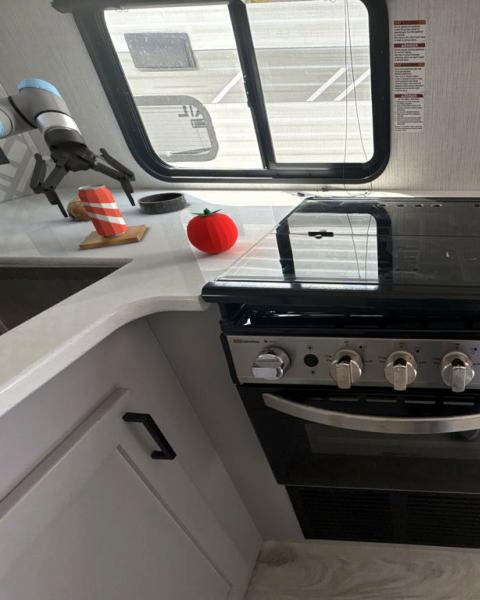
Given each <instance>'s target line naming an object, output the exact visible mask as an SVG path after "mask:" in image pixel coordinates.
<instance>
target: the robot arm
mask: <svg viewBox="0 0 480 600" xmlns="http://www.w3.org/2000/svg"><path fill="white" fill-rule="evenodd" d="M17 90H18V93H14V94H11V95H9V96H5V97H1V98H0V140H3V139H8V138H9V137H13V136H16V135H21V134H23V133H27V132H30V131H33V130H37V129H38V131H39V133H40V134H41V137H42V138H43V140H44V142H45V144H46V146H47V148H48V150H49V152H50V155H42V154H41V153H39V152H35V153H34V154H33V156H34V159H35V163H34V166H33V167H34V168H33V171H32V174H31V178H30V180H29V181H30V182H29V185H28V186H29V187H30V190H32V192H33V193H34V194H35V195H39V194H44V195H45V197H46V200H47V201H48V203H49V204H50V205H51V206H56V205H57V207H58V209H59V211H60V213H61V215H62V216H63V217H64V218H65V219H67V218H70V217H69V214H68V212H67V210H66V209H65V207H64V205H63V203H62V201H61V198H60V197H59V196H58V193H57V192H56V188H57V187H58V186H59V185H60V183H61V182H62V180H63V179H64V178H65V176H68V174H69V173H70V172H72V173H77V172H81V171H83V172H86V171H89V170H92V171H94V172H96V173H98V172H99V173H100V174H102V175H105V176H107V177H109V178H111V179H113V180H115V181H117V182H119V183H120V187H121V188H122V191H123V192H124V194H125V195H126V197H127V200H128V202H129V203H130V205H131V207H136V203H135V199H134V198H133V196H132V194H135V191H134V188H133V186H132V184H131V182H136V179H137V178H136V176H135V173H134V172H133V171H132V170H131V169H129V168H128V167H126V166H125V165H124V164H122V163H121V162H120V161H119V160H117V159H116V158H115V157H113V156H111V155H110V154H109V152H108V151H107V150H106V149H105V147H104V148H103V147H100V148H99V150H97V151H92V150H91V149H90V147H89V146H88V144H87V142H86V140H85V138H84V137H83V135H82V132H81V130H80V129H79V127H78V124H77V123H76V122H75V120H74V118H73V116H72V114H71V112H70V110H69V108H68V106H67V103H66V101H65V100H64V99H63V98H62V96H61V94H60V92H59V91H58V89H57V88H56V87H55V86H54V85H53V84H51V83H49V82H47V81H46V80H44V79H40V78H32V77H30V78H24V79H22V80H21V81H20V82H19V83H18V84H17ZM97 158H98V159H99V160H101V161H103V162H105V163H106V164H107V165H109V166H110V167H109V166H107V165H106V164H104V163H101V162H99V161H98V160H97ZM52 162H53V163H54V164H55V165H54V168H53V169H52V170H51V172H50V173H49V174H48V176H47V177H46V175H47V170H48V168H47V167H49V166H50V164H51V163H52Z"/></svg>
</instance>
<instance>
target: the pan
mask: <svg viewBox="0 0 480 600" xmlns="http://www.w3.org/2000/svg"><path fill="white" fill-rule="evenodd" d="M136 202H137V203H138V204H137V205H138V206H139V208H140V211H141V212H142V213H143V214H147V215H157V214H166V213H167V214H168V213H172V212H177V211H180V210H183V209H185V208H187V207H188V200H187V198H186V195H185V193H183V192H176V191H175V192H174V191H173V192H161V193H154V194H150V195H146V196H141V197H140V198H138V199H137V200H136Z"/></svg>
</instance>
